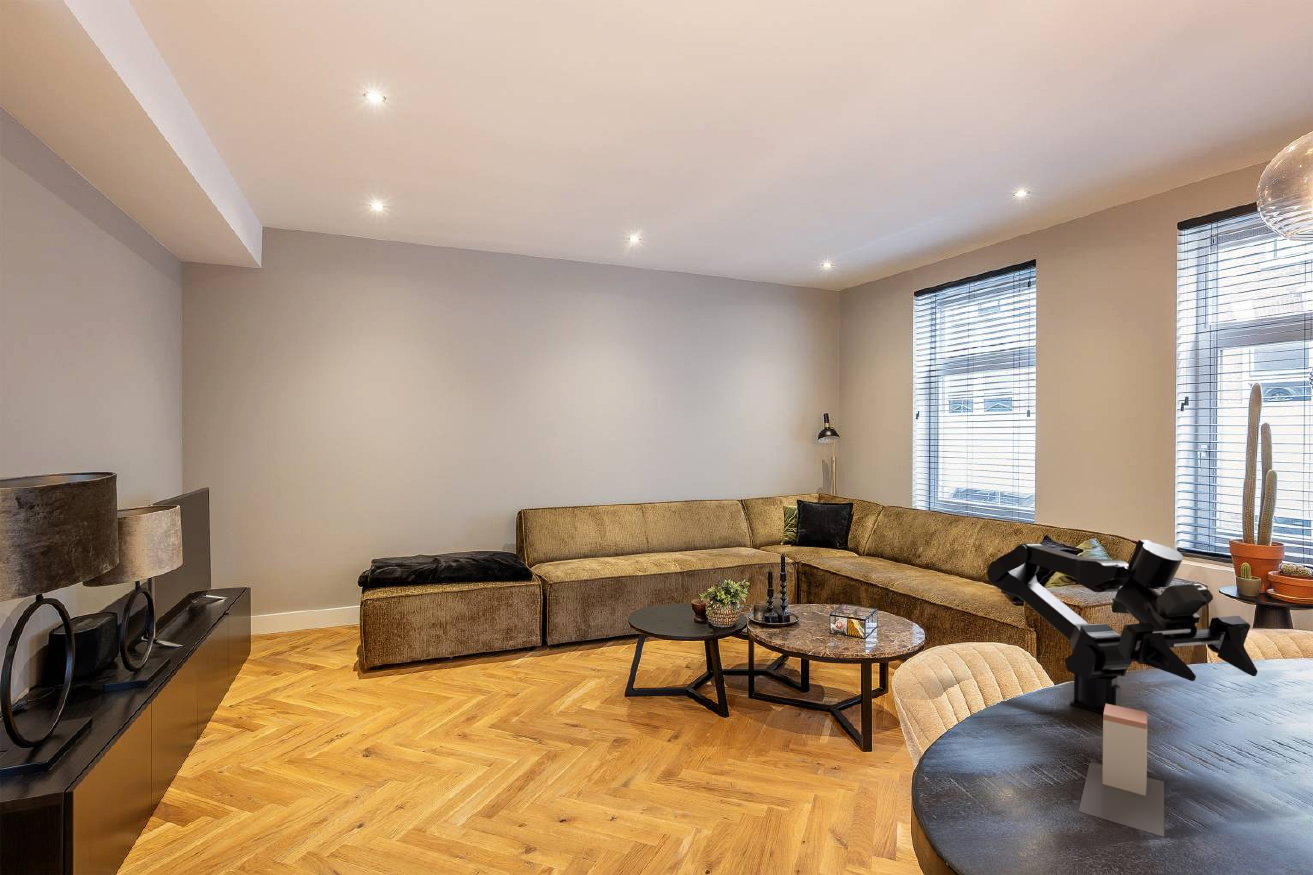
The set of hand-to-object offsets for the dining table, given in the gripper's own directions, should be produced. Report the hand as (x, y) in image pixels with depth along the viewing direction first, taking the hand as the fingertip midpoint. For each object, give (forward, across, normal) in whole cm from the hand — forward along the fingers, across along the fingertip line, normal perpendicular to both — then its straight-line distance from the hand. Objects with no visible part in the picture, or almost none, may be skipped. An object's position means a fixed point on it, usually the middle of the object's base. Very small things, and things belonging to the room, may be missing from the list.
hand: (1225, 676), depth 99 cm
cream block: (+9, -19, +10) cm, 23 cm away
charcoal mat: (+12, -22, +8) cm, 26 cm away
